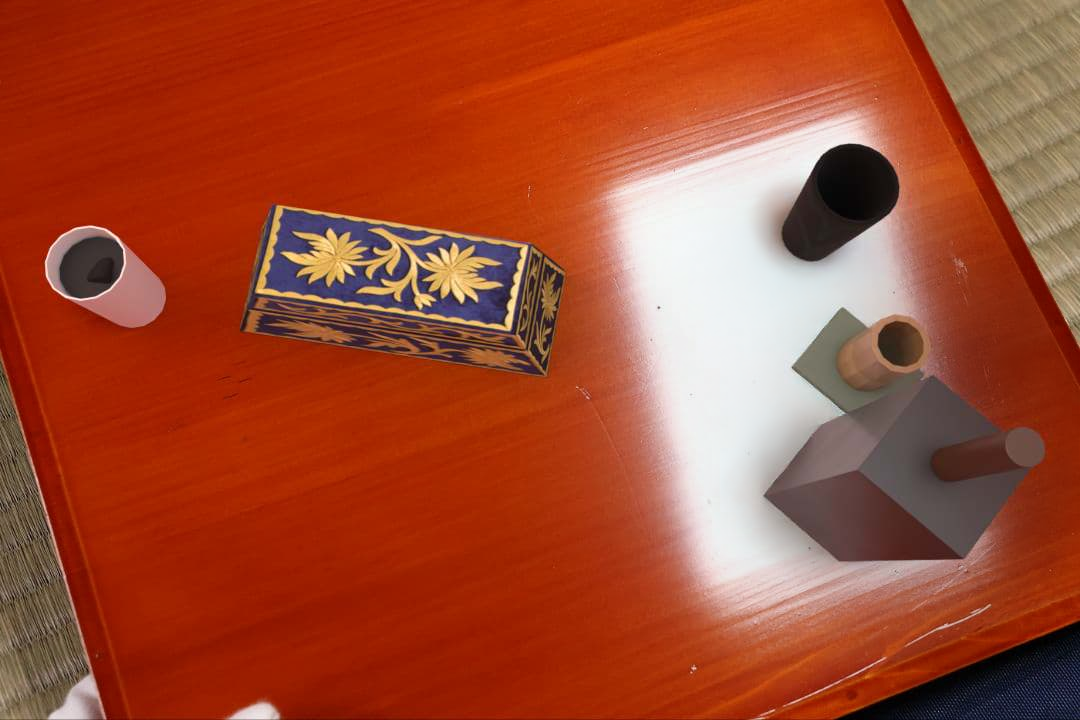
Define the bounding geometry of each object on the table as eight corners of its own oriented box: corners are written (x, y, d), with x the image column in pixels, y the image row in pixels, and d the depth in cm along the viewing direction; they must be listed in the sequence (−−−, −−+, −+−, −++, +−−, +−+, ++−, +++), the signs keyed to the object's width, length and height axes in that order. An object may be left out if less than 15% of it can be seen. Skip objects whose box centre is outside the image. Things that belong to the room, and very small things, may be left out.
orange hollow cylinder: (900, 360, 83) (941, 339, 75) (871, 402, 82) (909, 384, 74) (856, 327, 84) (892, 303, 76) (826, 368, 83) (860, 347, 75)
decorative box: (262, 225, 84) (234, 186, 76) (566, 271, 84) (573, 237, 76) (237, 331, 82) (205, 302, 73) (551, 378, 82) (556, 355, 73)
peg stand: (896, 487, 81) (1130, 440, 51) (839, 561, 79) (1047, 558, 49) (820, 424, 82) (1005, 341, 52) (763, 495, 80) (919, 452, 50)
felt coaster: (922, 375, 84) (925, 373, 83) (874, 436, 82) (876, 435, 81) (840, 308, 85) (842, 306, 84) (791, 367, 83) (793, 366, 83)
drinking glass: (174, 266, 83) (130, 226, 73) (166, 333, 81) (121, 301, 72) (104, 264, 83) (50, 224, 73) (94, 331, 81) (39, 299, 71)
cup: (760, 210, 87) (799, 155, 75) (829, 191, 88) (879, 133, 76) (787, 280, 85) (832, 234, 74) (858, 259, 86) (913, 211, 74)
